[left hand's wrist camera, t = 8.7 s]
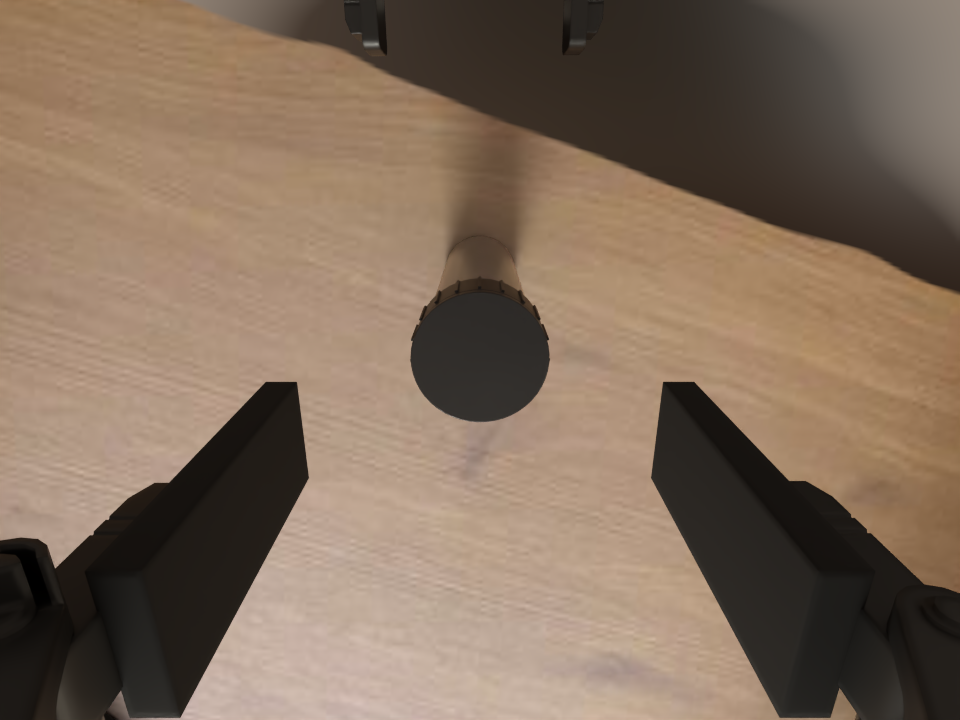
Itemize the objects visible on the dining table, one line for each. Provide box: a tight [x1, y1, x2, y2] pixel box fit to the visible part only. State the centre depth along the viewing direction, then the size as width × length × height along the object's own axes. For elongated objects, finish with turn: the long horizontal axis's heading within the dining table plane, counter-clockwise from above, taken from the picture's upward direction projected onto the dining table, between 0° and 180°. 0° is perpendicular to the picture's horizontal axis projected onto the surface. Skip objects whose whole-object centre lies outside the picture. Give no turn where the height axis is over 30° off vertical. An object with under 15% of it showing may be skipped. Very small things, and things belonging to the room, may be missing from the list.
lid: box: [410, 277, 550, 422], centre depth 20 cm, size 5×5×2 cm
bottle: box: [436, 236, 525, 296], centre depth 26 cm, size 4×4×15 cm
